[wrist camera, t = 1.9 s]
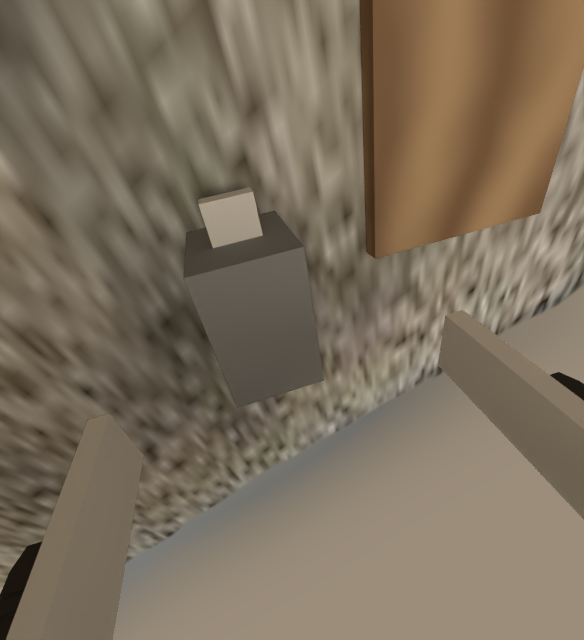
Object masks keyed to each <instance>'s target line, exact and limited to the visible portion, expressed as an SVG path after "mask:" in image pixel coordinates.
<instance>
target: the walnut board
mask: <svg viewBox="0 0 584 640" xmlns="http://www.w3.org/2000/svg"><path fill="white" fill-rule="evenodd" d="M360 18H361V56H362V94H363V133H364V171H365V209H366V247H367V252H368V253H369V254H370V255H371V256H373V257H374V258H379V257H383V256H386V255H390V254H393V253H397V252H401V251H404V250H408V249H412V248H415V247H419V246H422V245H426V244H430V243H433V242H437V241H441V240H444V239H448V238H451V237H455V236H459V235H462V234H466V233H470V232H473V231H477V230H480V229H484V228H488V227H491V226H495V225H498V224H502V223H506V222H509V221H513V220H517V219H520V218H524V217H527V216H531V215H535V214H538V213H540V212H541V208H542V205H543V202H544V198H545V195H546V192H547V188H548V185H549V182H550V178H551V175H552V172H553V168H554V165H555V161H556V158H557V155H558V151H559V148H560V145H561V141H562V138H563V135H564V131H565V128H566V125H567V121H568V118H569V115H570V111H571V108H572V104H573V101H574V98H575V94H576V91H577V88H578V84H579V81H580V78H581V74H582V71H583V68H584V0H360Z"/></svg>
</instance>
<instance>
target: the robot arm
mask: <svg viewBox="0 0 584 640" xmlns="http://www.w3.org/2000/svg"><path fill="white" fill-rule="evenodd" d="M438 365H439V366H440V368H441V369H442V370H443V371H444V372H445V373H446V374H447V375H448V376H449V377H450V378H451V379H452V380H453V381H454V382H455V383H456V384H457V386H458V387H459V388H460V389H461V390H462V391H463V392H464V393H465V394H466V395H467V396H468V397H469V398H470V399H471V400H472V401H473V403H475V405H476V406H477V407H478V408H479V409H480V410H481V411H482V412H483V413H484V414H485V415H486V416H487V417H488V418H489V419H490V421H491V422H492V423H493V424H494V425H495V426H496V427H497V428H498V429H499V430H500V431H501V432H502V433H503V434H504V435H505V436H506V437H507V438H508V440H509V441H510V442H511V443H512V444H513V445H514V446H515V447H516V448H517V449H518V450H519V451H520V452H521V453H522V454H523V456H524V457H525V458H526V459H527V460H528V461H529V462H530V463H531V464H532V465H533V466H534V467H535V468H536V469H537V470H538V471H539V472H540V474H541V475H542V476H543V477H544V478H545V479H546V480H547V481H548V482H549V483H550V484H551V485H552V486H553V487H554V488H555V489H556V491H557V492H558V493H559V494H560V495H561V496H562V497H563V498H564V499H565V500H566V501H567V502H568V503H569V504H570V505H571V506H572V507H573V509H575V511H576V512H577V513H578V514H579V515H580V516H581V517H582V518H583V519H584V384H583V383H581V382H580V381H578V380H575V379H573V378H571V377H569V376H566V375H564V374H562V373H560V372H558V373H554V374H552V375H549V374H547V373H546V372H545V371H543V370H542V369H541V368H539V367H538V366H537V365H535V364H534V363H533V362H531V361H530V360H529V359H527V358H526V357H525V356H523V355H522V354H521V353H519V352H518V351H517V350H515V349H514V348H513V347H511V346H510V345H509V344H507V343H506V342H505V341H503V340H502V339H501V338H499V337H498V336H497V335H495V334H494V333H493V332H491V331H490V330H489V329H487V328H486V327H485V326H483V325H482V324H481V323H479V322H478V321H477V320H475V319H474V318H473V317H471V316H470V315H469V314H467V313H466V312H465V311H463V310H461V311H458V312H454V313H451V314H448V315H445V321H444V328H443V335H442V342H441V349H440V355H439V362H438ZM143 458H144V456H143V454H142V453H141V452H140V451H139V449H138V448H137V447H136V446H135V444H134V443H133V442H132V441H131V439H130V438H129V437H128V436H127V434H126V433H125V432H124V431H123V429H122V428H121V427H120V425H119V424H118V423H117V422H116V420H115V419H114V418H113V417H112V415H111V414H106V415H103V416H99V417H96V418H92V419H89V420H88V421H87V424H86V426H85V429H84V432H83V434H82V437H81V440H80V442H79V445H78V448H77V450H76V453H75V456H74V458H73V461H72V464H71V466H70V469H69V472H68V474H67V477H66V480H65V482H64V485H63V488H62V490H61V493H60V496H59V498H58V501H57V504H56V507H55V509H54V512H53V515H52V517H51V520H50V523H49V525H48V528H47V531H46V533H45V536H44V539H43V541H42V542H39V543H36V544H33V545H30V546H27V547H26V549H25V550H24V552H23V553H22V555H21V556H20V558H19V559H18V560H17V562H16V563H15V565H14V566H13V568H12V569H11V571H10V573H9V575H8V577H7V580H6V582H5V585H4V587H3V589H2V592H1V594H0V640H113V634H114V628H115V622H116V616H117V611H118V604H119V598H120V593H121V587H122V581H123V575H124V569H125V564H126V558H127V552H128V546H129V540H130V534H131V528H132V522H133V517H134V511H135V505H136V499H137V493H138V487H139V481H140V475H141V469H142V464H143Z"/></svg>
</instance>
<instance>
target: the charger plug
mask: <svg viewBox="0 0 584 640" xmlns="http://www.w3.org/2000/svg"><path fill="white" fill-rule="evenodd" d="M198 205H199V208H200V211H201V214H202V217H203V220H204V223H205V226H206V228H204V229H199V230H195V231H191V232H187V236H186V250H185V264H184V281H185V283H186V286H187V288H188V290H189V293H190V295H191V298H192V300H193V302H194V305H195V307H196V310H197V312H198V315H199V317H200V319H201V322H202V324H203V327H204V329H205V331H206V334H207V336H208V339H209V341H210V343H211V346H212V348H213V351H214V353H215V355H216V358H217V360H218V363H219V365H220V367H221V370H222V372H223V375H224V377H225V380H226V382H227V384H228V387H229V389H230V392H231V394H232V396H233V399H234V401H235V404H236V406H237V408H238V407H241V406H244V405H248V404H251V403H254V402H257V401H260V400H263V399H266V398H270V397H273V396H276V395H279V394H282V393H285V392H288V391H292V390H295V389H298V388H301V387H304V386H307V385H310V384H314V383H317V382H320V381H323V380H324V376H323V370H322V363H321V356H320V350H319V343H318V336H317V330H316V323H315V317H314V310H313V303H312V297H311V290H310V284H309V277H308V270H307V264H306V257H305V250H304V246H303V245H302V244H301V243H300V241H299V240H298V239H297V238H296V236H295V235H294V234H293V233H292V232H291V230H290V229H289V228H288V227H287V226H286V224H285V223H284V222H283V221H282V219H281V218H280V217H279V216H278V215H277V213H276V212H275V211H272V212H268V213H264V214H260V215H258V212H257V207H256V203H255V199H254V194H253V191H252V190H251V188H250V187H248V188H244V189H240V190H236V191H231V192H227V193H223V194H219V195H215V196H210V197H206V198H202V199H198Z"/></svg>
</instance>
